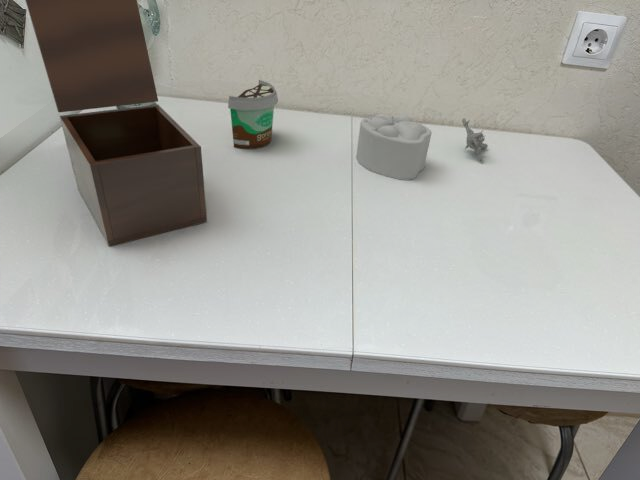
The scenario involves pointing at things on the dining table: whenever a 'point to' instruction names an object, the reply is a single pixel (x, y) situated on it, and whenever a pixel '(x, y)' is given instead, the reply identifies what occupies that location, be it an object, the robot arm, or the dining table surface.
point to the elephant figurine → (475, 140)
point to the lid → (93, 52)
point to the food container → (253, 116)
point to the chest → (136, 171)
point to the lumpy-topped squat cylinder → (393, 146)
